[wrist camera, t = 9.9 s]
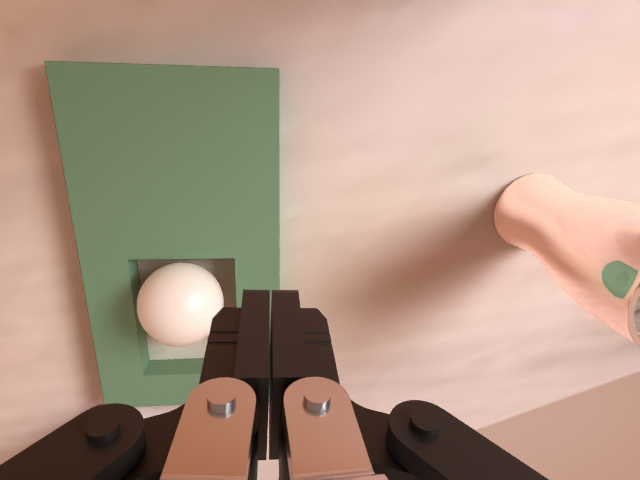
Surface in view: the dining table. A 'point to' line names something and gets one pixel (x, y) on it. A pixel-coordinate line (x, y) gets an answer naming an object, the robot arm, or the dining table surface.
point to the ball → (179, 304)
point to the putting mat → (164, 195)
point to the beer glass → (579, 245)
